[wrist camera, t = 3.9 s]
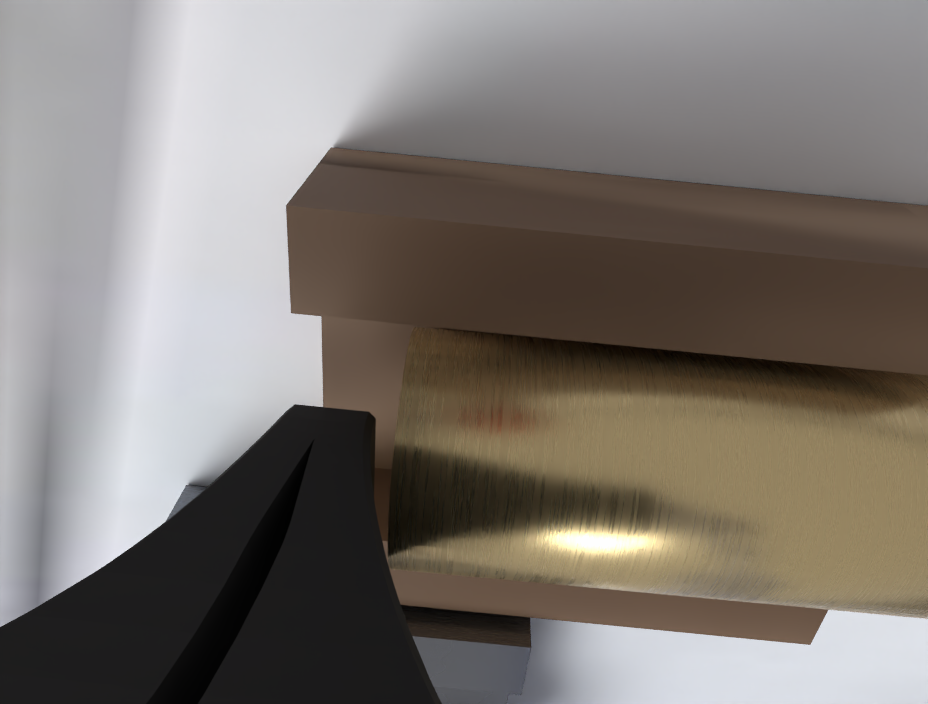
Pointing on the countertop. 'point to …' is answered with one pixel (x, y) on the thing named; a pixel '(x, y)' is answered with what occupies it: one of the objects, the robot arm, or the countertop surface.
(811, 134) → the countertop surface
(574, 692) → the countertop surface
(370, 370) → the brown wooden cradle
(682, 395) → the brass axle
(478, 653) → the v block
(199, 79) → the countertop surface
